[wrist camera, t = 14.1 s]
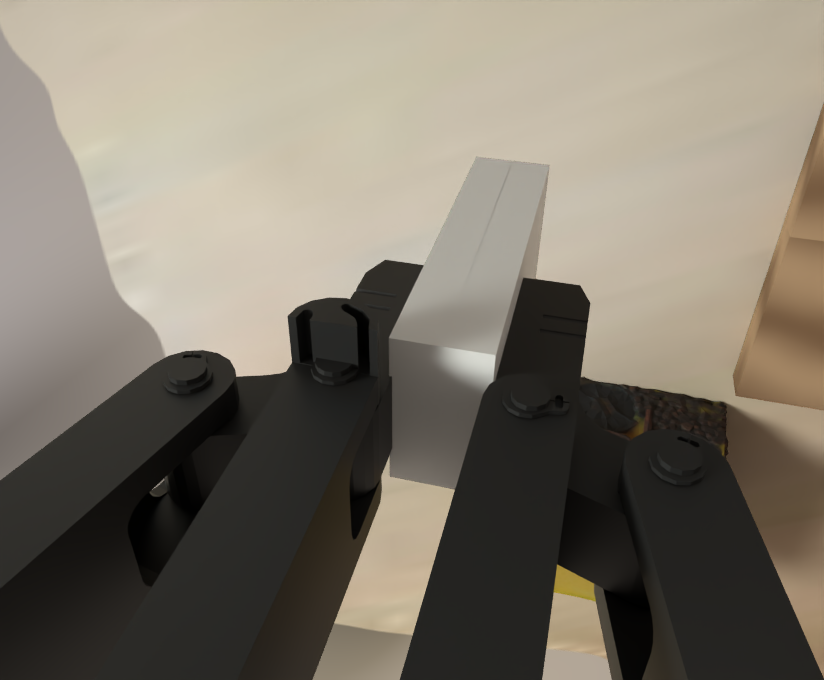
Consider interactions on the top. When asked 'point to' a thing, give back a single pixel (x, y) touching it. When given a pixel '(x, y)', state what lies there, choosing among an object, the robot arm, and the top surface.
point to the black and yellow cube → (633, 416)
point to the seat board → (791, 301)
